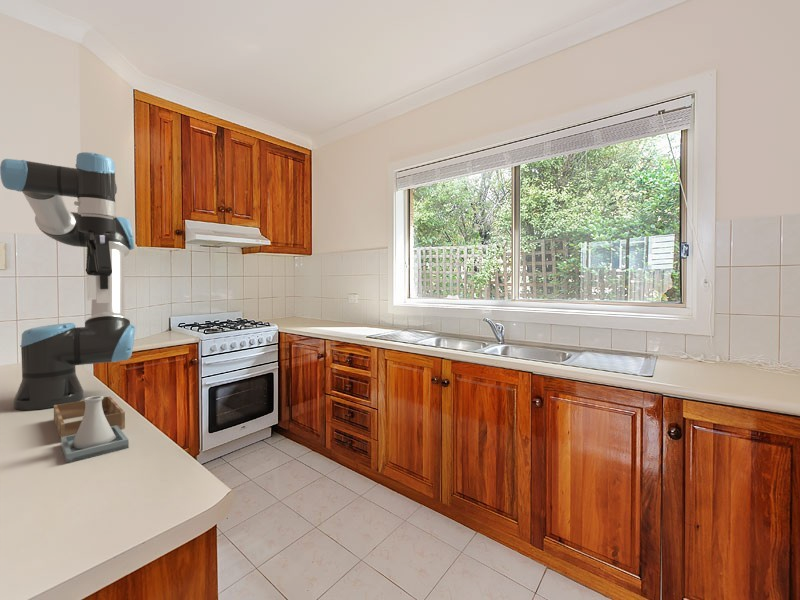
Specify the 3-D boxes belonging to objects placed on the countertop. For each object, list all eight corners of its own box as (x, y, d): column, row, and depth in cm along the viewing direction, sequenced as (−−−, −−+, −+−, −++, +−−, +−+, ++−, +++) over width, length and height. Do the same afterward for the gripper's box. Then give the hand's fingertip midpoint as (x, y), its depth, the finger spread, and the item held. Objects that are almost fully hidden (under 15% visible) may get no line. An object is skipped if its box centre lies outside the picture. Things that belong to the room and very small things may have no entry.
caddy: (54, 420, 96) (53, 405, 96) (110, 410, 104) (109, 396, 104) (61, 442, 83) (61, 424, 83) (125, 428, 91) (124, 412, 91)
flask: (90, 451, 76) (89, 404, 76) (63, 448, 78) (62, 401, 78) (123, 438, 83) (122, 394, 83) (98, 435, 85) (97, 392, 85)
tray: (60, 445, 81) (60, 437, 81) (117, 432, 88) (117, 425, 88) (66, 463, 73) (66, 454, 73) (128, 447, 80) (128, 439, 80)
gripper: (71, 219, 99) (73, 298, 100) (84, 210, 82) (87, 304, 83) (106, 223, 105) (108, 297, 106) (126, 214, 88) (127, 303, 89)
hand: (98, 301), depth 95 cm, fingers open, 13 cm apart
